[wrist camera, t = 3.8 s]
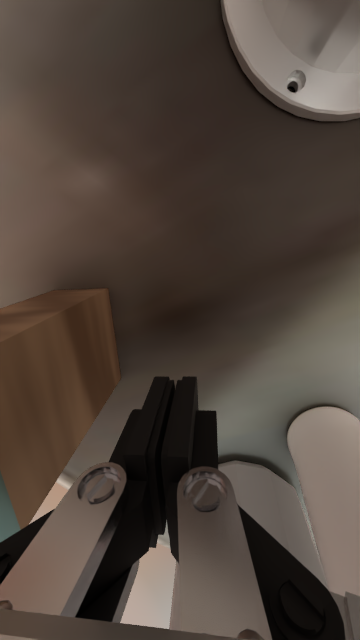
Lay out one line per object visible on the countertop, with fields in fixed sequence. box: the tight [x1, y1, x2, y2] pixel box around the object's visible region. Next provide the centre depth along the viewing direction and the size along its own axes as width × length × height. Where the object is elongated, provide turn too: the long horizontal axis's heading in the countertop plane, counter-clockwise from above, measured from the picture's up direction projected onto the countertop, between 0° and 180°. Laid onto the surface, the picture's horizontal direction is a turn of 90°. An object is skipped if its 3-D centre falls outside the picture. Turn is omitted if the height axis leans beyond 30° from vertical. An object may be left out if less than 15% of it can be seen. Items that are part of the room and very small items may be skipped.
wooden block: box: [0, 288, 121, 542], centre depth 13 cm, size 4×7×12 cm, turn 3°
